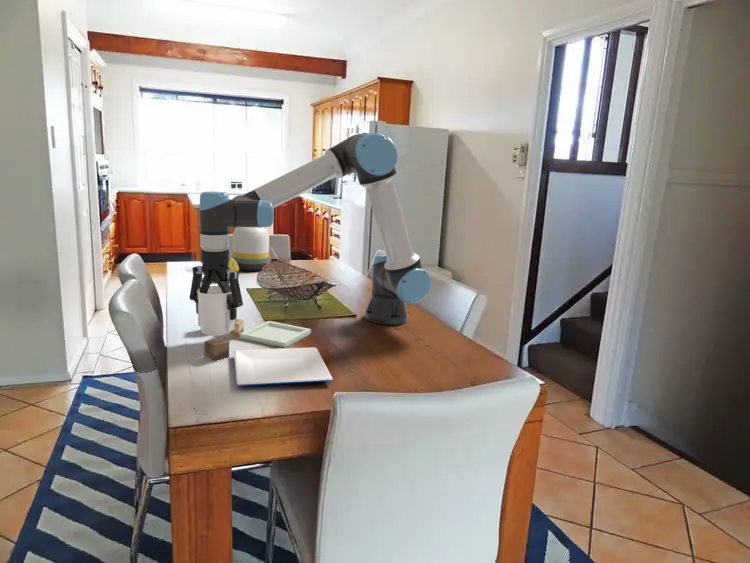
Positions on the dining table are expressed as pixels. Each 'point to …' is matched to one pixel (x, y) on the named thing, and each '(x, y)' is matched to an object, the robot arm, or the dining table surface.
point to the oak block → (236, 329)
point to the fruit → (233, 265)
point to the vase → (250, 247)
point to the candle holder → (213, 311)
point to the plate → (279, 366)
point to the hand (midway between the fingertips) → (216, 327)
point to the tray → (275, 334)
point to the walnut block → (216, 349)
